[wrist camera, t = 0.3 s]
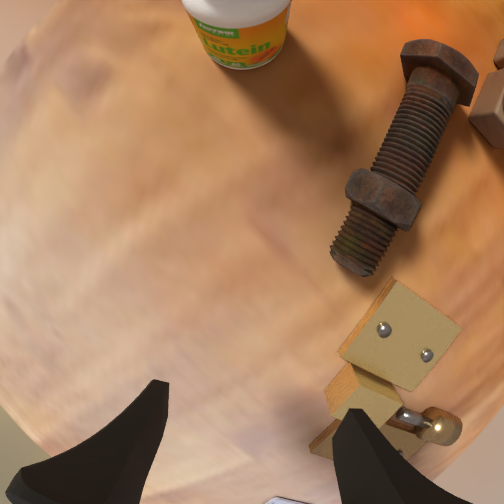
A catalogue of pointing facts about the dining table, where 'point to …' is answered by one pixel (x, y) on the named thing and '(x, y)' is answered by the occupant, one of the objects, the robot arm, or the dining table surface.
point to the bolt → (403, 154)
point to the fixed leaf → (403, 432)
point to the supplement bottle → (240, 30)
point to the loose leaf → (389, 353)
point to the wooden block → (491, 104)
